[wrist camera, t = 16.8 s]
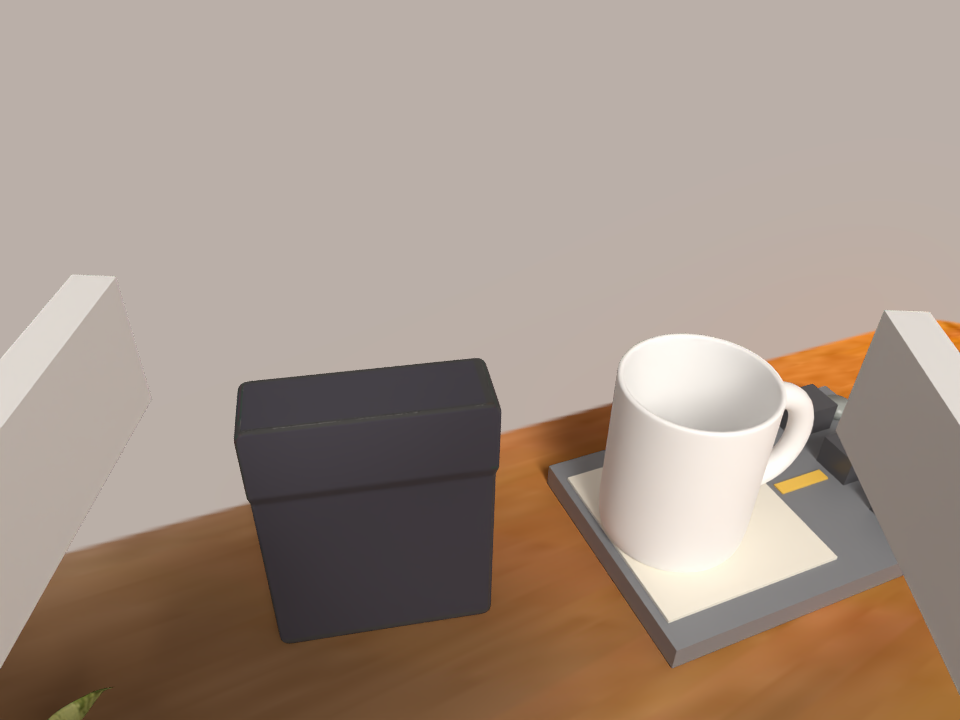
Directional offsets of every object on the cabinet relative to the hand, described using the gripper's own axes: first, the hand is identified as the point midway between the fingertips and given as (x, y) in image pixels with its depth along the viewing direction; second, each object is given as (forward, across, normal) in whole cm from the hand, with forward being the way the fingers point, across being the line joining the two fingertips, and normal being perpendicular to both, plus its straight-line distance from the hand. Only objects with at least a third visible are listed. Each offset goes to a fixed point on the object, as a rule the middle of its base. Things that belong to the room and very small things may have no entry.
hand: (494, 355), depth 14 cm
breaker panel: (+22, +17, -28) cm, 40 cm away
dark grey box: (+14, -5, -28) cm, 32 cm away
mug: (+20, +12, -27) cm, 36 cm away
